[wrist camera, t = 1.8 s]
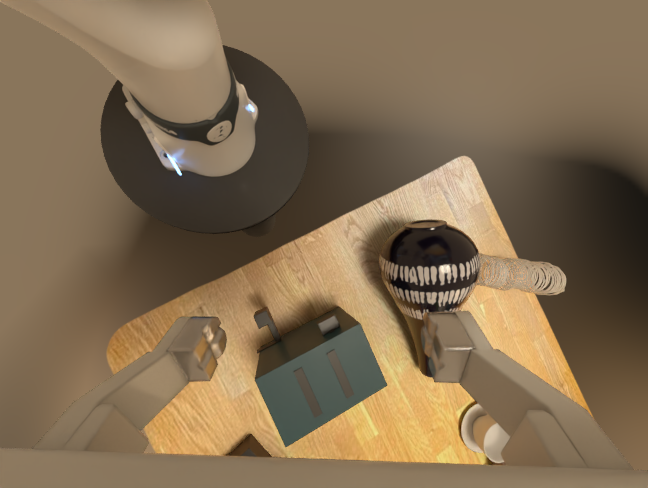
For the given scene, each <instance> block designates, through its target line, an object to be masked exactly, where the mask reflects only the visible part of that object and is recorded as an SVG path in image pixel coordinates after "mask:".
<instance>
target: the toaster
mask: <svg viewBox="0 0 648 488" xmlns="http://www.w3.org/2000/svg"><path fill="white" fill-rule="evenodd" d="M259 352H260V355H259V360H258V366H257V371H256V377H255V381H256V384H257V386H258V388H259V390H260V392H261V394H262V397H263V399H264V401H265V403H266V405H267V408H268V410H269V412H270V414H271V416H272V418H273V421H274V423H275V425H276V427H277V429H278V431H279V434H280V436H281V438H282V440H283V442H284V445H285V447H287V446H289V445H291V444H292V443H294V442H295V441H297V440H299V439H300V438H302V437H304V436H305V435H307V434H309V433H310V432H312V431H314V430H315V429H317V428H318V427H320V426H322V425H323V424H325V423H327V422H328V421H330V420H332V419H333V418H335V417H336V416H338V415H340V414H341V413H343V412H345V411H346V410H348V409H350V408H351V407H353V406H355V405H356V404H358V403H359V402H361V401H363V400H364V399H366V398H368V397H369V396H371V395H373V394H374V393H376V392H377V391H379V390H381V389H382V388H384V387H386V386H387V383H386V381H385V379H384V376H383V374H382V372H381V370H380V367H379V365H378V363H377V361H376V358H375V356H374V354H373V352H372V349H371V347H370V345H369V342H368V340H367V338H366V336H365V333H364V331H363V329H362V327H361V324H360V323H359V322H358V321H356V320H355V319H354V318H353V317H351V316H350V315H349V314H348V313H346V312H345V311H344V310H343V309H341V308H340V307H338V308H336V309H334V310H332V311H330V312H328V313H326V314H324V315H322V316H320V317H318V318H316V319H314V320H312V321H310V322H308V323H306V324H304V325H302V326H301V327H299V328H297V329H295V330H293V331H291V332H289V333H287V334H285V335H283V336H281V339H280V340H278V341H275V340H273V341H271V342H269V343H267V344H265V345H263V346H261V348H260V349H259V350H257V353H259Z"/></svg>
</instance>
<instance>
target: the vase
mask: <svg viewBox="0 0 648 488" xmlns="http://www.w3.org/2000/svg"><path fill="white" fill-rule="evenodd" d="M379 267H380V273H381V276H382V279H383V282H384V284H385V286H386V288H387V290H388V291H389V293H390V294H391V296H392V298H393V299H394V301H395V303H396V304H397V306H398V308H399V309H400V311H401V313H402V315H403V316H404V318H405V320H406V322H407V325H408V327H409V330H410V333H411V335H412V338H413V342H414V345H415V349H416V353H417V357H418V362H419V369H420V371H421V372H422V374H424V375H425V376H428V377H433V376H432V373H431V371H430V368H429V365H428V364H429V358H430V357H428V356H427V355H426V354H425V353H424V350H423V347H422V342H421V328H422V327H423V326H424V325H425V324H424V321H423V316H424V313H425V312H443V311H452V312H453V311H461V309H462V307H463V306H464V304H465V303H466V301H467V300H468V298H469V297H470V295H471V294H472V292H473V290H474V288H475V286H476V284H477V282H478V279H479V275H480V267H481V261H480V254H479V251H478V249H477V247H476V245H475V244H474V242H473V241H472V240H471V238H470V237H469V236H468V235H466V234H465V233H464V232H463V231H461V230H459V229H458V228H456V227H454V226H451V225H449V224H447V222H446V221H443V220H417V221H412V222H408V223H406V224H404V227H402V228H400V229H398V230H397V231H395V232H394V233H393V234H392V235H391V236H390V237H389V238H388V239H387V240H386V241H385V243H384V245H383V246H382V249H381V251H380V256H379Z"/></svg>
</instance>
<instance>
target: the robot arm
mask: <svg viewBox="0 0 648 488" xmlns="http://www.w3.org/2000/svg"><path fill="white" fill-rule="evenodd" d="M0 2H1V3H3V4H5V5H7V6H9V7H11V8H13V9H15V10H17V11H19V12H21V13H23V14H25V15H27V16H29V17H31V18H32V19H34V20H36V21H38V22H40V23H42V24H44V25H45V26H47V27H49V28H51V29H53V30H54V31H56V32H58V33H59V34H61V35H63V36H64V37H66V38H68V39H69V40H71V41H73V42H74V43H76V44H77V45H79V46H80V47H82V48H83V49H84V50H86V51H87V52H89V53H90V54H91V55H92V56H94V57H95V58H96V59H97V60H98V61H99V62H101V64H103V65H104V66H105V67H106V68H107V69H108V70H109V71H110V72H111V73H112V74H113V75H114V76H115V77H116V78H117V79H118V80H119V81H120V82H121V83H122V84H123V87H122V90H123V93H124V95H125V96H126V98H127V100H128V102H126V103H125V105H126V107H127V108H128V110H129V111H130V113H131V114H132V115H133V116H134V118H136V119H138V120H139V122H140V124H141V126H142V128H143V129H144V131H145V133H146V135H147V137H148V139H149V140H150V142H151V144H152V146H153V148H154V150H155V151H156V153H157V155H158V157H159V159H160V161H161V162H162V164H163V165H164V167H165V168H166V169H168V170H172V171H177V172H178V174H179V175H182V174H181V172H180V171H185V170H186V171H191V172H194V173H197V174H200V175H203V176H210V177H218V176H224V175H228V174H231V173H233V172H235V171H237V170H239V169H240V168H241V167H243V166H244V165H245V164H246V163H247V161H248V160H249V159H250V157H251V155H252V153H253V150H254V147H255V123H256V120H257V118H258V108H257V106H256V105H255V104H254V103H253V102H252V101H251V100H250V99H249V98H248V97H247V93H246V90H245V88H244V86H243V85H242V84H239V83H238V82H237V81H236V79H235V75H234V73H233V71H232V68H231V66H230V64H229V62H228V60H227V59H226V57H225V54H224V50H223V46H222V42H221V38H220V34H219V30H218V27H217V23H216V19H215V16H214V14H213V11H212V9H211V7H210V5H209V3H208V1H207V0H0ZM166 155H168V157H167V158H165V156H166ZM423 321H424V324H425V325H424V326H423V327H422V328H421V342H422V347H423V350H424V353H425V354H426V355H427V356H428V357H430V358H429V364H428V365H429V368H430V371H431V373H432V376H433V379H434V382H446V383H460V385H461V386H462V387H463V388H464V389H465V390H466V391H467V392H468V393H469V394H470V395H471V396H472V397H473V399H474V400H475V401H476V402H477V403H478V404H479V405H480V406H481V407H482V408H483V409H484V410H485V411H486V412H487V413H488V414H489V415H490V416H491V417H492V418H493V419H494V420H495V421H496V422H497V424H498V425H499V426H500V427H501V428H502V429H503V430H504V431H505V432H506V433H507V434H508V435H509V436H510V439H509V440H508V442H507V443H506V445H505V446H504V448H503V450H502V452H501V456H502V458H503V460H504V462H505V464H506V465H479V464H450V463H422V462H393V461H364V460H335V459H307V458H278V457H249V456H220V455H191V454H162V453H144V451H145V449H146V447H147V446H148V444H149V441H148V438H147V437H146V436H145V435H144V434H143V433H142V432H141V430H142V429H143V428H144V427H145V426H146V425H147V424H148V423H149V422H150V421H151V420H152V419H153V418H154V417H155V416H156V415H157V414H158V413H159V412H160V411H161V410H162V409H163V408H164V407H165V406H166V405H167V404H168V403H169V402H170V401H171V400H172V399H173V398H174V397H175V396H176V395H177V394H178V393H179V392H180V391H181V390H182V389H183V388H184V387H185V386H186V385H187V384H188V383H189V382H192V381H210V380H211V378H212V376H213V374H214V371H215V369H216V367H217V365H218V364H217V360H216V359H217V358H219V357H220V356H221V355H222V354H223V352H224V350H225V347H226V341H227V339H226V333H225V331H224V330H223V329H222V328H220V327H219V326H220V324H221V322H220V320H219V318H218V317H180V318H178V319H177V320H176V321H175V322H174V324H173V325H172V326H171V328H170V329H169V330H168V332H167V333H166V334H165V336H164V337H163V338H162V339H161V341H160V342H159V343H158V345H157V346H156V347H155V349H154V350H153V351H152V352H148V353H146V354H145V355H143V356H142V357H140V358H139V359H137V360H136V361H134V362H133V363H131V364H130V365H128V366H127V367H125V368H124V369H122V370H121V371H119V372H118V373H116V374H115V375H113V376H112V377H110V378H109V379H107V380H106V381H104V382H103V383H101V384H100V385H98V386H97V387H95V388H94V389H92V390H91V391H89V392H88V393H86V394H85V395H83V396H82V397H80V398H79V399H77V400H76V401H74V402H73V403H72V404H71V405H70V406H69V408H68V409H67V410H66V411H65V412H64V413H63V414H62V415H61V417H60V418H59V419H58V420H57V421H56V422H55V423H54V424H53V426H52V427H51V428H50V429H49V430H48V431H47V432H46V434H45V435H44V436H43V437H42V438H41V439H40V440H39V441H38V442H37V444H36V445H35V446H34V447H33V448H32V449H14V448H0V488H648V470H634V469H633V468H632V466H631V465H630V464H629V463H628V461H627V460H626V459H625V458H624V456H623V455H622V454H621V453H620V451H619V450H618V449H617V448H616V446H615V445H614V444H613V443H612V441H611V440H610V439H609V438H608V436H607V435H606V434H605V433H604V432H603V430H602V429H601V428H600V426H599V425H598V424H597V423H596V421H595V420H594V419H593V418H592V416H591V415H590V414H589V413H588V411H587V410H586V409H584V408H583V407H582V406H580V405H579V404H577V403H576V402H574V401H573V400H571V399H570V398H568V397H567V396H565V395H564V394H563V393H561V392H560V391H558V390H557V389H555V388H554V387H552V386H551V385H549V384H548V383H546V382H545V381H544V380H542V379H541V378H539V377H538V376H536V375H535V374H533V373H532V372H530V371H529V370H528V369H526V368H525V367H523V366H522V365H520V364H519V363H517V362H516V361H514V360H513V359H511V358H510V357H509V356H507V355H506V354H504V353H503V352H501V351H500V350H498V349H493V348H492V346H491V345H490V343H489V341H488V340H487V338H486V337H485V335H484V333H483V332H482V330H481V329H480V327H479V326H478V324H477V322H476V321H475V319H474V318H473V316H472V314H471V313H470V312H469V311H453V312H452V311H443V312H425V313H424V316H423Z"/></svg>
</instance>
